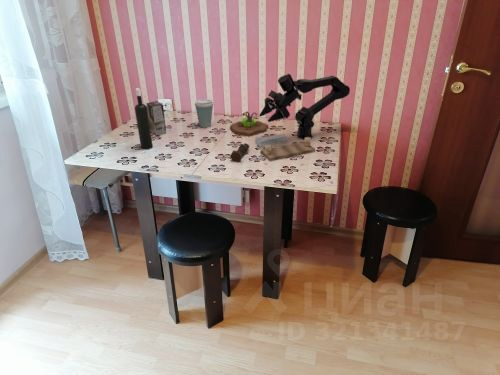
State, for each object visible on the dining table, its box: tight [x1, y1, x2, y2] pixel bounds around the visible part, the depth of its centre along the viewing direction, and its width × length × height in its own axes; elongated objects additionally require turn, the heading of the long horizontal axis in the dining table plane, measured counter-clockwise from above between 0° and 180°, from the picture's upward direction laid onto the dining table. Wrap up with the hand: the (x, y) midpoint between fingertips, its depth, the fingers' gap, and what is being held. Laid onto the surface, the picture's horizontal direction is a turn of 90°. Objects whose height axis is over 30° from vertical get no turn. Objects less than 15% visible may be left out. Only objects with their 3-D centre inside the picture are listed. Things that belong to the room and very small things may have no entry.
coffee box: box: [145, 100, 167, 136], centre depth 205 cm, size 9×6×16 cm
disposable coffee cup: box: [194, 98, 214, 129], centre depth 213 cm, size 11×11×15 cm
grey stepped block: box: [254, 133, 288, 148], centre depth 193 cm, size 16×6×3 cm, turn 114°
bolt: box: [229, 143, 250, 163], centre depth 179 cm, size 6×5×15 cm
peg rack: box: [260, 137, 316, 162], centre depth 182 cm, size 25×10×6 cm, turn 114°
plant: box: [229, 111, 269, 137], centre depth 208 cm, size 20×20×11 cm
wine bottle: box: [134, 87, 154, 150], centre depth 183 cm, size 6×6×30 cm
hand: (263, 118), depth 185 cm, fingers open, 9 cm apart
